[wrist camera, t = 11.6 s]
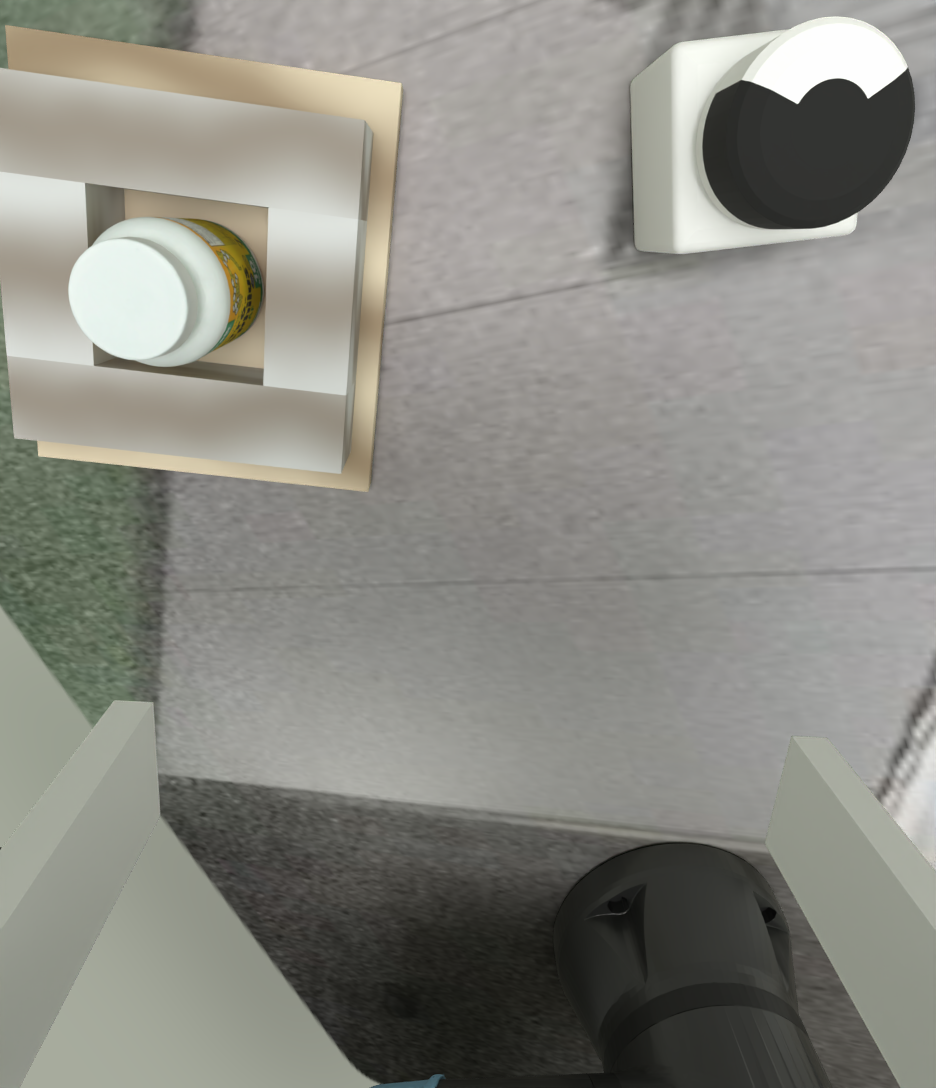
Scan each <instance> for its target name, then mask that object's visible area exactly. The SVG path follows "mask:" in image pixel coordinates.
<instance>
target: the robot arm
mask: <svg viewBox="0 0 936 1088" xmlns="http://www.w3.org/2000/svg"><path fill="white" fill-rule="evenodd" d="M159 818H160V802H159V786H158V770H157V754H156V738H155V722H154V706H153V702H137V701H118V700H114V701H113V703H112V704H111V705H110V707H109V708H108V709H107V710H106V712H105V713H104V714H103V716H102V717H101V718H100V720H99V721H98V722H97V724H96V725H95V726H94V728H93V729H92V730H91V731H90V733H89V734H88V735H87V737H86V738H85V739H84V741H83V742H82V743H81V745H80V746H79V747H78V749H77V750H76V751H75V753H74V754H73V755H72V756H71V758H70V759H69V760H68V762H67V763H66V764H65V766H64V767H63V768H62V770H61V771H60V772H59V774H58V775H57V776H56V777H55V779H54V780H53V781H52V783H51V784H50V785H49V787H48V788H47V789H46V791H45V792H44V793H43V794H42V796H41V797H40V798H39V800H38V801H37V803H36V804H35V805H34V806H33V808H32V809H31V810H30V812H29V813H28V814H27V815H26V817H25V818H24V819H23V821H22V822H21V824H20V825H19V826H18V827H17V829H16V830H15V831H14V833H13V834H12V835H11V836H10V838H9V839H8V840H7V842H6V843H5V844H4V846H3V847H2V848H1V847H0V1088H20V1086H21V1084H22V1082H23V1080H24V1078H25V1076H26V1074H27V1072H28V1071H29V1069H30V1067H31V1065H32V1063H33V1061H34V1059H35V1057H36V1055H37V1053H38V1051H39V1049H40V1048H41V1046H42V1044H43V1042H44V1040H45V1038H46V1036H47V1034H48V1032H49V1030H50V1028H51V1026H52V1024H53V1022H54V1020H55V1019H56V1016H57V1015H58V1013H59V1011H60V1009H61V1007H62V1005H63V1003H64V1001H65V999H66V997H67V995H68V993H69V991H70V990H71V988H72V986H73V984H74V982H75V980H76V978H77V976H78V974H79V972H80V970H81V968H82V966H83V964H84V962H85V961H86V959H87V957H88V955H89V953H90V951H91V949H92V947H93V945H94V943H95V941H96V939H97V937H98V935H99V934H100V932H101V929H102V928H103V926H104V924H105V922H106V920H107V918H108V916H109V914H110V912H111V910H112V908H113V906H114V905H115V903H116V901H117V899H118V897H119V895H120V893H121V891H122V889H123V887H124V885H125V883H126V881H127V879H128V877H129V876H130V873H131V872H132V870H133V868H134V866H135V864H136V862H137V860H138V858H139V856H140V854H141V852H142V850H143V849H144V846H145V845H146V843H147V841H148V839H149V837H150V835H151V833H152V831H153V829H154V827H155V825H156V823H157V821H158V820H159ZM765 845H766V846H767V848H768V850H769V852H770V854H771V855H772V857H773V859H774V861H775V863H776V864H777V866H778V868H779V870H780V872H781V873H782V875H783V877H784V879H785V881H786V882H787V884H788V886H789V888H790V890H791V891H792V893H793V895H794V897H795V899H796V900H797V902H798V904H799V906H800V908H801V909H802V911H803V913H804V915H805V917H806V918H807V920H808V922H809V924H810V926H811V927H812V929H813V931H814V933H815V935H816V936H817V938H818V940H819V942H820V944H821V945H822V947H823V949H824V951H825V953H826V954H827V956H828V958H829V960H830V962H831V963H832V965H833V967H834V969H835V971H836V972H837V974H838V976H839V978H840V980H841V981H842V983H843V985H844V987H845V989H846V990H847V992H848V994H849V996H850V998H851V999H852V1001H853V1003H854V1005H855V1006H856V1008H857V1010H858V1012H859V1014H860V1015H861V1017H862V1019H863V1021H864V1023H865V1024H866V1026H867V1028H868V1030H869V1032H870V1033H871V1035H872V1037H873V1039H874V1041H875V1042H876V1044H877V1046H878V1048H879V1050H880V1051H881V1053H882V1055H883V1057H884V1059H885V1060H886V1062H887V1064H888V1066H889V1068H890V1069H891V1071H892V1073H893V1075H894V1077H895V1078H896V1080H897V1082H898V1084H899V1086H900V1087H901V1088H936V871H935V870H934V869H933V867H932V866H931V865H930V864H929V863H928V861H927V860H926V859H925V858H924V856H923V855H922V854H921V853H920V851H919V850H918V849H917V848H916V847H915V845H914V844H913V843H912V842H911V840H910V839H909V838H908V837H907V835H906V834H905V833H904V832H903V831H902V829H901V828H900V827H899V826H898V824H897V823H896V822H895V821H894V819H893V818H892V817H891V816H890V815H889V813H888V812H887V811H886V810H885V808H884V807H883V806H882V805H881V804H880V802H879V801H878V800H877V799H876V797H875V796H874V795H873V794H872V792H871V791H870V790H869V789H868V788H867V786H866V785H865V784H864V783H863V781H862V780H861V779H860V778H859V776H858V775H857V774H856V773H855V772H854V770H853V769H852V768H851V767H850V765H849V764H848V763H847V762H846V760H845V759H844V758H843V757H842V756H841V754H840V753H839V752H838V751H837V749H836V748H835V747H834V746H833V744H832V743H831V742H830V741H829V740H828V738H821V737H802V736H791V740H790V744H789V748H788V752H787V756H786V760H785V764H784V768H783V772H782V776H781V780H780V784H779V788H778V792H777V796H776V800H775V804H774V808H773V812H772V816H771V820H770V824H769V828H768V832H767V836H766V840H765ZM553 946H554V953H555V959H556V966H557V972H558V977H559V981H560V983H561V986H562V989H563V992H564V994H565V996H566V998H567V1000H568V1001H569V1003H570V1005H571V1007H572V1009H573V1011H574V1012H575V1014H576V1016H577V1018H578V1020H579V1022H580V1023H581V1025H582V1027H583V1029H584V1031H585V1033H586V1034H587V1036H588V1038H589V1040H590V1042H591V1044H592V1045H593V1047H594V1049H595V1051H596V1053H597V1055H598V1056H599V1058H600V1060H601V1062H602V1065H603V1069H604V1073H593V1074H587V1073H586V1074H568V1075H542V1076H513V1077H484V1078H455V1079H445V1076H444V1075H442V1074H435V1075H433V1076H432V1077H431V1078H430V1079H429V1080H421V1081H411V1082H401V1083H390V1084H380V1085H376V1086H373V1087H371V1088H833V1087H832V1085H831V1083H830V1081H829V1079H828V1077H827V1075H826V1072H825V1070H824V1068H823V1066H822V1064H821V1062H820V1060H819V1057H818V1055H817V1053H816V1051H815V1049H814V1047H813V1045H812V1043H811V1041H810V1038H809V1036H808V1034H807V1032H806V1030H805V1027H804V1025H803V1023H802V1021H801V1018H800V1016H799V1013H798V1004H797V995H796V986H795V977H794V968H793V958H792V949H791V940H790V933H789V929H788V926H787V922H786V919H785V917H784V914H783V912H782V910H781V908H780V906H779V904H778V902H777V900H776V898H775V896H774V894H773V892H772V890H771V888H770V886H769V885H768V883H767V882H766V880H765V879H764V878H763V877H762V875H761V874H760V873H759V872H758V871H757V870H756V869H755V868H753V867H752V866H751V865H750V864H748V863H747V862H745V861H744V860H742V859H740V858H739V857H737V856H735V855H733V854H730V853H728V852H725V851H723V850H719V849H716V848H712V847H708V846H703V845H696V844H663V845H655V846H650V847H645V848H641V849H637V850H634V851H631V852H628V853H626V854H623V855H620V856H618V857H616V858H614V859H612V860H610V861H608V862H606V863H604V864H603V865H601V866H599V867H598V868H596V869H595V870H593V871H592V872H591V873H589V874H588V875H587V876H586V877H585V878H583V879H582V880H581V881H580V882H579V883H578V884H577V885H576V886H575V887H574V889H573V890H572V891H571V892H570V893H569V895H568V896H567V898H566V899H565V901H564V902H563V904H562V906H561V908H560V910H559V912H558V915H557V918H556V921H555V925H554V931H553Z"/></svg>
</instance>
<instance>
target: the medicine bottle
mask: <svg viewBox="0 0 936 1088" xmlns="http://www.w3.org/2000/svg"><path fill="white" fill-rule="evenodd" d="M630 93H631V130H632V167H633V203H634V240H635V247H636V248H637V249H638V250H639V251H645V252H659V253H672V254H688V253H697V252H705V251H714V250H723V249H731V248H740V247H749V246H757V245H766V244H775V243H783V242H792V241H801V240H809V239H818V238H827V237H835V236H844V235H847V234H850V233H852V232H853V231H854V229H855V228H856V224H857V212H859V211H860V210H862V209H863V208H864V207H866V206H867V205H868V204H869V203H871V202H872V201H873V200H874V199H875V198H876V197H877V196H878V195H879V194H880V193H881V192H882V191H883V189H884V188H885V187H886V185H887V184H888V183H889V182H890V180H891V179H892V177H893V176H894V174H895V172H896V171H897V169H898V168H899V166H900V164H901V162H902V159H903V157H904V155H905V153H906V150H907V147H908V144H909V141H910V138H911V133H912V129H913V124H914V113H915V98H914V89H913V83H912V79H911V75H910V72H909V69H908V66H907V64H906V62H905V60H904V58H903V56H902V54H901V53H900V51H899V50H898V49H897V47H896V46H895V44H894V43H893V42H892V41H891V40H890V39H889V38H888V37H887V36H886V35H885V34H884V33H882V32H881V31H879V30H878V29H877V28H875V27H874V26H872V25H869V24H867V23H866V22H863V21H860V20H856V19H853V18H847V17H823V18H819V19H814V20H810V21H807V22H805V23H802V24H800V25H797V26H795V27H793V28H791V29H788V30H779V31H771V32H762V33H754V34H746V35H737V36H729V37H720V38H712V39H703V40H695V41H687V42H680V43H677V44H675V45H674V46H673V47H671V48H670V49H669V50H668V51H667V52H665V53H664V54H663V55H662V56H661V57H659V58H658V59H657V60H656V61H654V62H653V63H652V64H651V65H650V66H648V67H647V68H646V69H645V70H644V71H642V72H641V73H640V74H639V75H638V76H636V77H635V78H634V79H633V81H632V82H631V86H630Z"/></svg>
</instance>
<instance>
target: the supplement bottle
mask: <svg viewBox="0 0 936 1088" xmlns="http://www.w3.org/2000/svg"><path fill="white" fill-rule="evenodd" d="M68 294H69V302H70V306H71V310H72V313H73V315H74V317H75V319H76V321H77V324H78V325H79V327H80V328H81V330H82V331H83V332H84V334H85V335H86V336H87V337H88V338H89V339H90V340H91V341H92V342H93V343H94V344H95V345H97V346H98V347H99V348H101V349H102V350H104V351H106V352H108V353H109V354H111V355H114V356H116V357H119V358H123V359H127V360H135V361H138V362H140V363H143V364H147V365H151V366H158V367H173V366H179V365H184V364H188V363H191V362H194V361H196V360H198V359H200V358H202V357H203V356H205V355H207V354H209V353H210V352H212V351H214V350H217V349H218V348H220V347H222V346H224V345H226V344H228V343H230V342H232V341H233V340H235V339H237V338H239V337H240V336H242V335H243V334H244V333H246V332H247V331H248V330H249V329H250V328H251V327H252V325H253V324H254V322H255V321H256V319H257V317H258V315H259V313H260V310H261V307H262V303H263V298H264V284H263V279H262V275H261V271H260V268H259V265H258V262H257V260H256V258H255V256H254V254H253V252H252V250H251V249H250V247H249V246H248V245H247V244H246V242H245V241H244V240H243V239H242V238H241V237H240V236H238V235H237V234H236V233H235V232H233V231H232V230H230V229H228V228H227V227H225V226H223V225H221V224H218V223H215V222H212V221H207V220H201V219H191V218H168V217H137V218H131V219H128V220H124V221H121V222H119V223H117V224H115V225H113V226H111V227H110V228H108V229H107V230H106V231H104V232H103V233H102V234H101V235H100V236H99V237H98V238H97V239H96V241H95V242H94V243H93V245H92V246H91V247H89V248H88V249H87V250H86V251H85V252H84V253H83V254H82V255H81V256H80V257H79V258H78V260H77V261H76V263H75V264H74V267H73V269H72V272H71V275H70V279H69V286H68Z"/></svg>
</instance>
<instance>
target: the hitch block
mask: <svg viewBox="0 0 936 1088" xmlns="http://www.w3.org/2000/svg"><path fill="white" fill-rule="evenodd" d="M5 28H6V41H7V54H8V67H9V69H3V68H0V282H1V293H2V305H3V316H4V327H5V339H6V350H7V362H8V373H9V384H10V396H11V407H12V418H13V430H14V438H18V439H27V440H36V441H37V443H38V456H42V457H51V458H61V459H70V460H79V461H88V462H97V463H107V464H116V465H125V466H134V467H144V468H153V469H162V470H171V471H180V472H190V473H199V474H208V475H217V476H226V477H236V478H245V479H254V480H263V481H272V482H282V483H291V484H300V485H309V486H318V487H328V488H337V489H346V490H355V491H364V492H368V491H369V487H370V484H371V474H372V462H373V450H374V437H375V425H376V413H377V401H378V389H379V377H380V364H381V352H382V340H383V328H384V316H385V303H386V291H387V279H388V267H389V255H390V243H391V230H392V218H393V206H394V194H395V182H396V170H397V157H398V145H399V133H400V121H401V109H402V96H403V87H402V84H401V83H397V82H390V81H383V80H376V79H369V78H363V77H356V76H349V75H342V74H335V73H329V72H322V71H315V70H308V69H301V68H294V67H288V66H281V65H274V64H267V63H260V62H253V61H247V60H240V59H233V58H226V57H219V56H213V55H206V54H199V53H192V52H185V51H178V50H172V49H165V48H158V47H151V46H144V45H137V44H131V43H124V42H117V41H110V40H103V39H97V38H90V37H83V36H76V35H69V34H62V33H56V32H49V31H42V30H35V29H28V28H21V27H15V26H8V25H5ZM137 217H168V218H191V219H201V220H207V221H212V222H215V223H218V224H221V225H223V226H225V227H227V228H228V229H230V230H232V231H233V232H235V233H236V234H237V235H238V236H240V237H241V238H242V239H243V240H244V241H245V242H246V244H247V245H248V246H249V247H250V249H251V250H252V252H253V254H254V256H255V258H256V260H257V262H258V265H259V268H260V271H261V275H262V279H263V284H264V298H263V303H262V307H261V310H260V313H259V315H258V317H257V319H256V321H255V322H254V324H253V325H252V327H251V328H250V329H249V330H248V331H247V332H246V333H244V334H243V335H242V336H240V337H239V338H237V339H235V340H233V341H232V342H230V343H228V344H226V345H224V346H222V347H220V348H218V349H217V350H214V351H212V352H210V353H209V354H207V355H205V356H203V357H202V358H200V359H198V360H196V361H194V362H191V363H188V364H184V365H179V366H173V367H158V366H151V365H147V364H143V363H140V362H138V361H135V360H127V359H123V358H119V357H116V356H114V355H111V354H109V353H108V352H106V351H104V350H102V349H101V348H99V347H98V346H97V345H95V344H94V343H93V342H92V341H91V340H90V339H89V338H88V337H87V336H86V335H85V334H84V332H83V331H82V330H81V328H80V327H79V325H78V324H77V321H76V319H75V317H74V315H73V313H72V310H71V306H70V302H69V294H68V286H69V279H70V275H71V272H72V269H73V267H74V264H75V263H76V261H77V260H78V258H79V257H80V256H81V255H82V254H83V253H84V252H85V251H86V250H87V249H88V248H89V247H91V246H92V245H93V243H94V242H95V241H96V239H97V238H98V237H99V236H100V235H101V234H102V233H103V232H104V231H106V230H107V229H108V228H110V227H111V226H113V225H115V224H117V223H119V222H121V221H124V220H128V219H131V218H137Z"/></svg>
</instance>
